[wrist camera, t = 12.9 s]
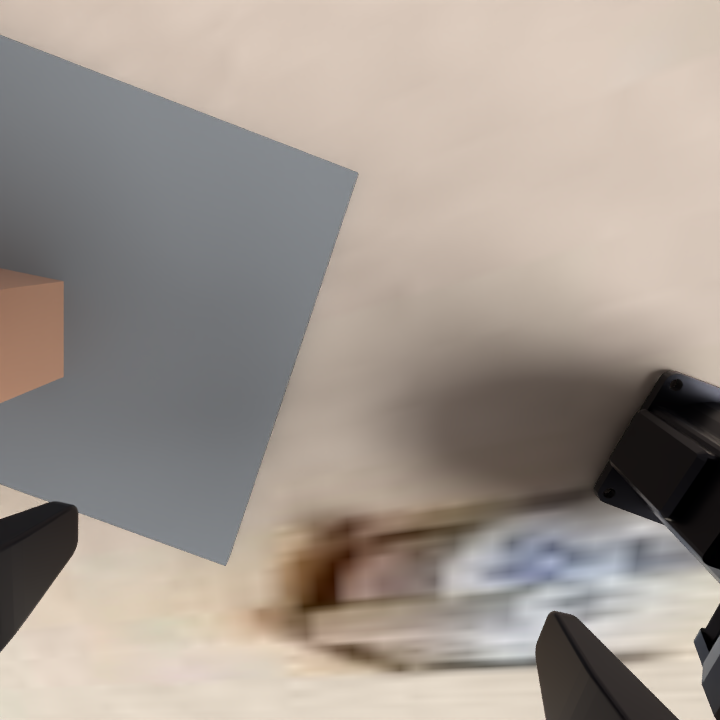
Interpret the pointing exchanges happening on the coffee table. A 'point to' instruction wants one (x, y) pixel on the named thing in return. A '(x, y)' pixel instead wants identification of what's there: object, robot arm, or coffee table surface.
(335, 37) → the coffee table surface
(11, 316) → the block
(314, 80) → the coffee table surface
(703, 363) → the coffee table surface
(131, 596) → the coffee table surface
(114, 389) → the mat
